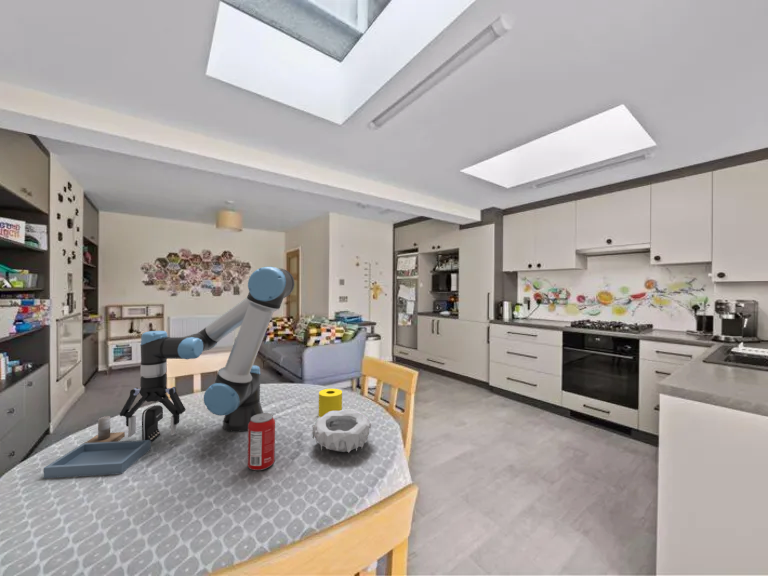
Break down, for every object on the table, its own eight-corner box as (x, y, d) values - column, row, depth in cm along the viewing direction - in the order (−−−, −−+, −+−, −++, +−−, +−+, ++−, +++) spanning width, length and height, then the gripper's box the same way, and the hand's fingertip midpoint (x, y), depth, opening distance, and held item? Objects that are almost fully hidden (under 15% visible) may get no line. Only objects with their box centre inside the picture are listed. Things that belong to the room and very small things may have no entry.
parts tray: (150, 448, 105) (150, 439, 105) (121, 473, 91) (121, 463, 91) (83, 452, 103) (83, 443, 102) (43, 478, 89) (43, 467, 89)
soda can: (248, 475, 92) (249, 424, 92) (246, 461, 99) (247, 414, 98) (276, 468, 95) (277, 419, 95) (272, 456, 102) (273, 410, 102)
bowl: (381, 440, 114) (382, 412, 114) (353, 469, 95) (353, 437, 95) (333, 428, 123) (334, 402, 123) (299, 453, 104) (299, 423, 104)
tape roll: (346, 412, 138) (346, 391, 138) (331, 420, 129) (331, 398, 129) (329, 407, 143) (329, 387, 143) (313, 415, 135) (313, 393, 135)
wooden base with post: (124, 436, 113) (124, 412, 113) (108, 447, 105) (108, 422, 105) (100, 437, 112) (100, 413, 112) (81, 449, 104) (82, 423, 104)
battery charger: (152, 443, 109) (153, 410, 109) (140, 444, 108) (141, 411, 108) (164, 434, 116) (164, 403, 115) (153, 434, 115) (153, 403, 115)
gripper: (196, 371, 117) (195, 427, 117) (122, 372, 114) (121, 430, 114) (186, 377, 110) (185, 437, 110) (107, 378, 106) (106, 440, 106)
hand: (153, 434), depth 112 cm, fingers open, 13 cm apart
